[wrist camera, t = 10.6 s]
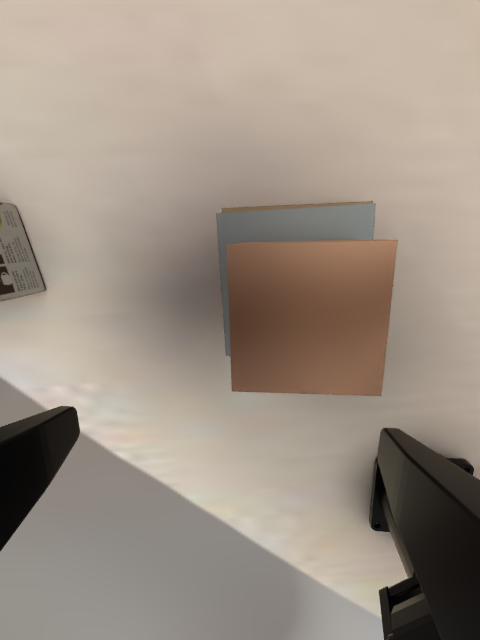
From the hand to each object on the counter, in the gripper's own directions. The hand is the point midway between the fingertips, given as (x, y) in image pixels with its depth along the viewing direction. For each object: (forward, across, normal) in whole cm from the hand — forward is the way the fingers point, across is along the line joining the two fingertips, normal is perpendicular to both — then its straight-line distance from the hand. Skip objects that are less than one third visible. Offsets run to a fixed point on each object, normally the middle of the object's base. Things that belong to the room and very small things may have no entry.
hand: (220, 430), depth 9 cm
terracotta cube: (+7, -2, -3) cm, 8 cm away
